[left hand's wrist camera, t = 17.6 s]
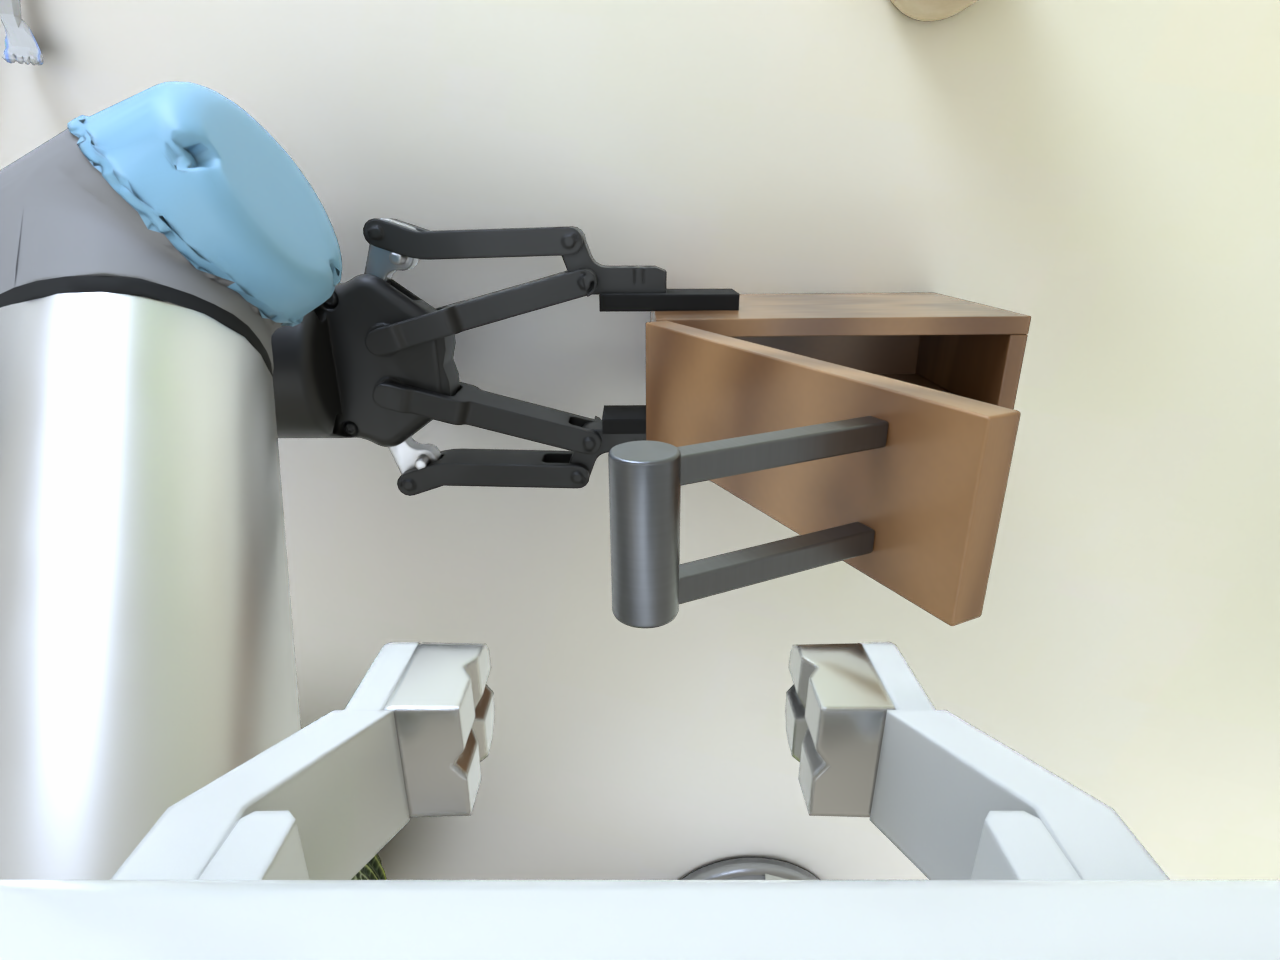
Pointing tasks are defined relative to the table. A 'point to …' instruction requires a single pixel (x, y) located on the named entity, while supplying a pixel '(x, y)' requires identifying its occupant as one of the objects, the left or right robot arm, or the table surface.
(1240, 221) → the table surface
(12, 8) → the toy
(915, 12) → the candle
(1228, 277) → the table surface
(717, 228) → the table surface
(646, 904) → the left robot arm
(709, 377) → the lid
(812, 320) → the chest
